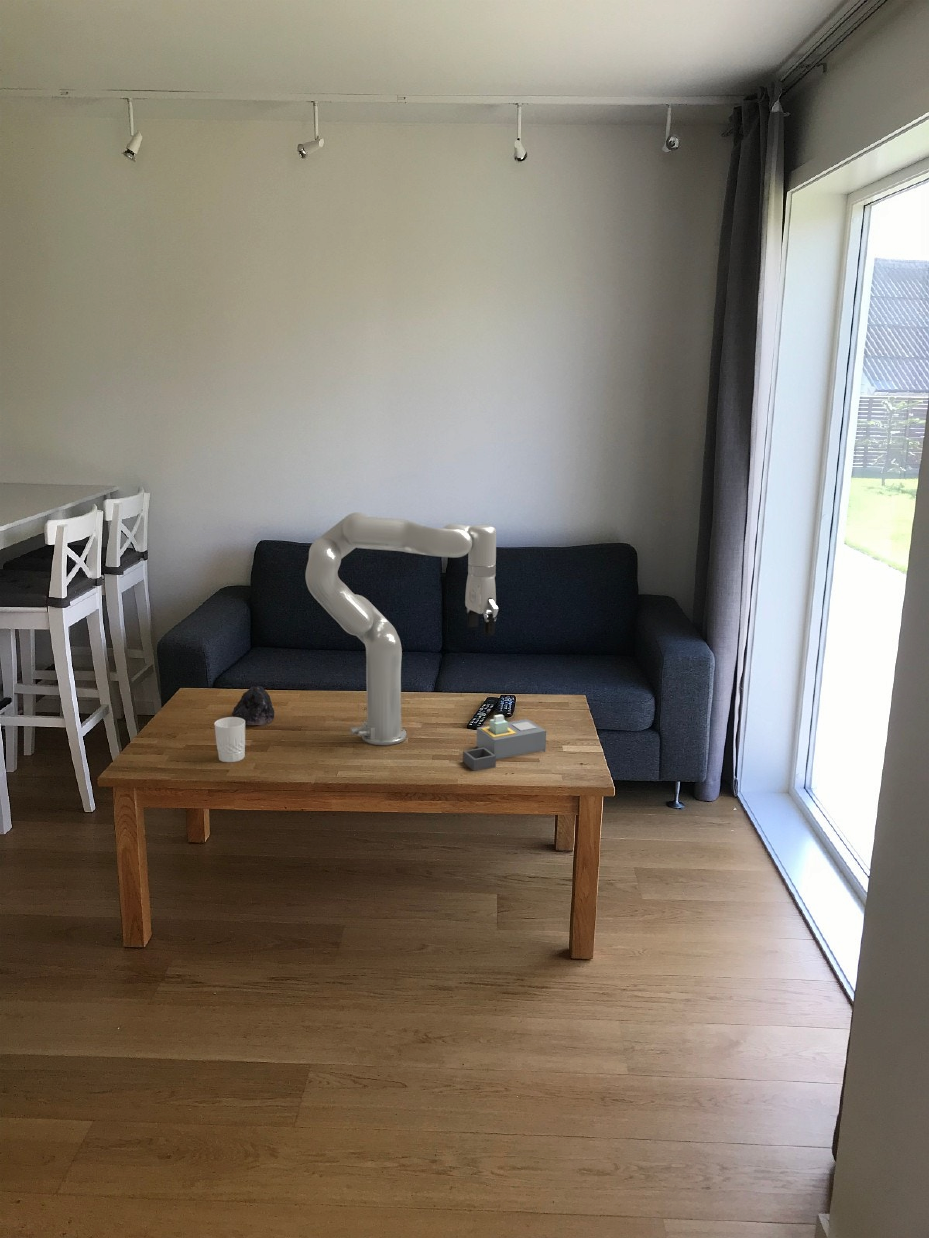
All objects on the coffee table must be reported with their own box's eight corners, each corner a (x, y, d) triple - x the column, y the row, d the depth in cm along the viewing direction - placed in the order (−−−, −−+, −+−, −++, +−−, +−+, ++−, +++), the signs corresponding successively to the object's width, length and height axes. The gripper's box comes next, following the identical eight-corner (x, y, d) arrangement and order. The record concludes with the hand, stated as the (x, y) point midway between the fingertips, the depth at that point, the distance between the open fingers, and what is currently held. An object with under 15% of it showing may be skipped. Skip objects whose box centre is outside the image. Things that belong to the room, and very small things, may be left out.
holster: (473, 772, 238) (474, 760, 237) (462, 763, 244) (462, 751, 243) (495, 768, 241) (496, 755, 240) (484, 759, 247) (484, 747, 246)
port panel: (494, 761, 246) (494, 739, 244) (476, 748, 254) (476, 726, 253) (545, 751, 253) (546, 729, 251) (526, 738, 261) (527, 717, 260)
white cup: (231, 765, 240) (229, 729, 238) (210, 759, 245) (207, 723, 242) (253, 755, 247) (251, 720, 244) (231, 749, 251) (230, 714, 248)
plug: (495, 751, 249) (496, 718, 247) (489, 747, 252) (489, 714, 250) (507, 749, 251) (507, 716, 248) (500, 745, 254) (501, 712, 251)
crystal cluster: (248, 733, 265) (250, 700, 262) (219, 718, 273) (222, 686, 270) (285, 724, 275) (287, 692, 272) (256, 710, 283) (259, 679, 280)
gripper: (455, 566, 259) (454, 624, 264) (484, 577, 244) (483, 640, 249) (479, 564, 263) (478, 622, 267) (509, 575, 248) (507, 637, 252)
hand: (480, 630), depth 258 cm, fingers open, 9 cm apart
